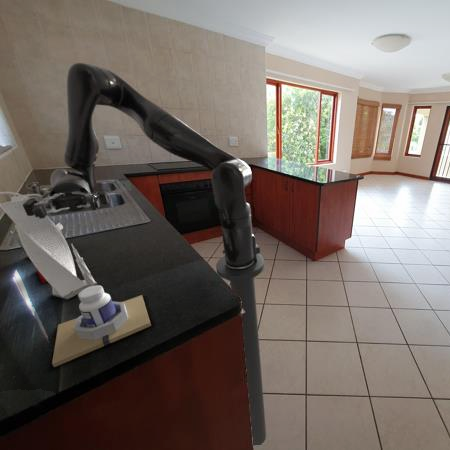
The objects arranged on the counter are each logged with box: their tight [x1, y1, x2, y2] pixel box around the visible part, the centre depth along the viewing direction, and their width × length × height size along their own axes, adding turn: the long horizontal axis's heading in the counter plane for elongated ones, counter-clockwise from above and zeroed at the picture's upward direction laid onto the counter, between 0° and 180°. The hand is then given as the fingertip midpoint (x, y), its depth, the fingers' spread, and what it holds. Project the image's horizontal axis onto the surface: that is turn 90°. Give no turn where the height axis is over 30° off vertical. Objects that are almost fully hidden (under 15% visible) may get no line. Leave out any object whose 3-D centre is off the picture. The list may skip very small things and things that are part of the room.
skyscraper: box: [0, 191, 99, 300], centre depth 59 cm, size 8×8×28 cm
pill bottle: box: [77, 284, 117, 328], centre depth 51 cm, size 5×5×9 cm
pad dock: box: [51, 294, 152, 368], centre depth 53 cm, size 16×12×4 cm
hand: (67, 209), depth 51 cm, fingers open, 8 cm apart
